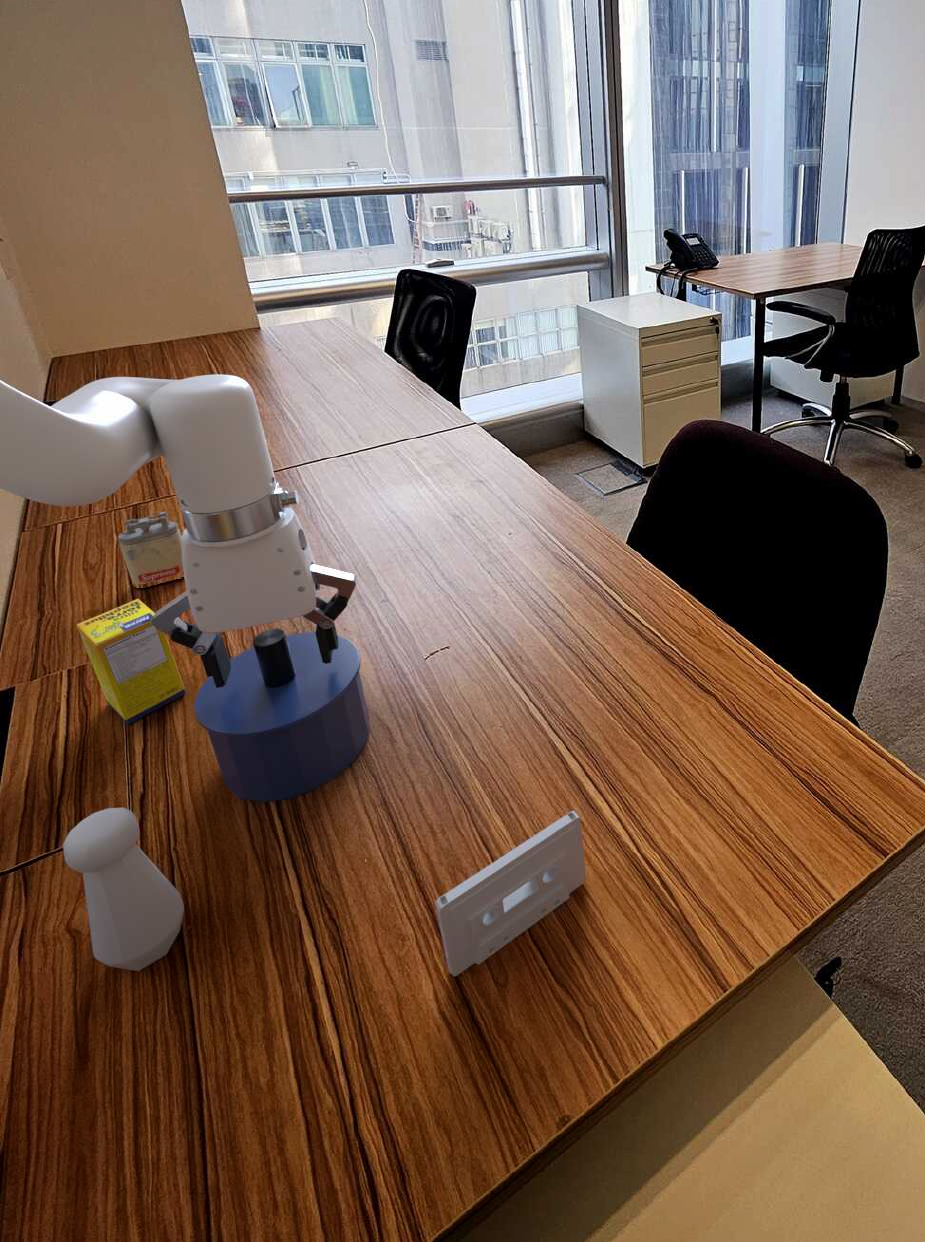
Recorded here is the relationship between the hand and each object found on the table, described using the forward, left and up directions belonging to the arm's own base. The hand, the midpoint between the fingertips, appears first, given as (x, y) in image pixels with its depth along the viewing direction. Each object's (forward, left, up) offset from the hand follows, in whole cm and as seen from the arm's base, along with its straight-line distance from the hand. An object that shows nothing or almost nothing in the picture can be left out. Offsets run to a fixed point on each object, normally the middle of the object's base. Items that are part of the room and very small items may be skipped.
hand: (277, 666), depth 73 cm
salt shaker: (-9, -18, -11) cm, 23 cm away
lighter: (-22, +42, -11) cm, 49 cm away
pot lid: (0, 0, -2) cm, 2 cm away
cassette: (+19, -27, -11) cm, 35 cm away
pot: (0, 0, -10) cm, 10 cm away
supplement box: (-17, +14, -11) cm, 25 cm away
